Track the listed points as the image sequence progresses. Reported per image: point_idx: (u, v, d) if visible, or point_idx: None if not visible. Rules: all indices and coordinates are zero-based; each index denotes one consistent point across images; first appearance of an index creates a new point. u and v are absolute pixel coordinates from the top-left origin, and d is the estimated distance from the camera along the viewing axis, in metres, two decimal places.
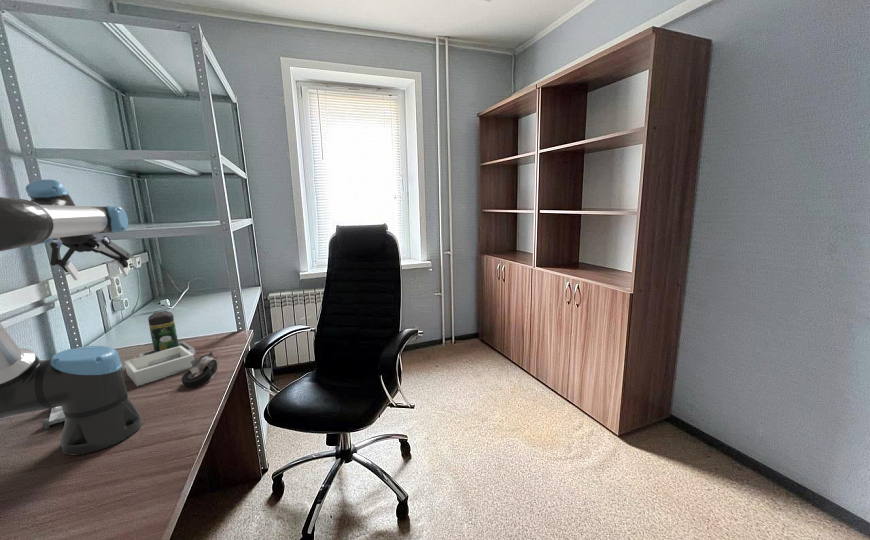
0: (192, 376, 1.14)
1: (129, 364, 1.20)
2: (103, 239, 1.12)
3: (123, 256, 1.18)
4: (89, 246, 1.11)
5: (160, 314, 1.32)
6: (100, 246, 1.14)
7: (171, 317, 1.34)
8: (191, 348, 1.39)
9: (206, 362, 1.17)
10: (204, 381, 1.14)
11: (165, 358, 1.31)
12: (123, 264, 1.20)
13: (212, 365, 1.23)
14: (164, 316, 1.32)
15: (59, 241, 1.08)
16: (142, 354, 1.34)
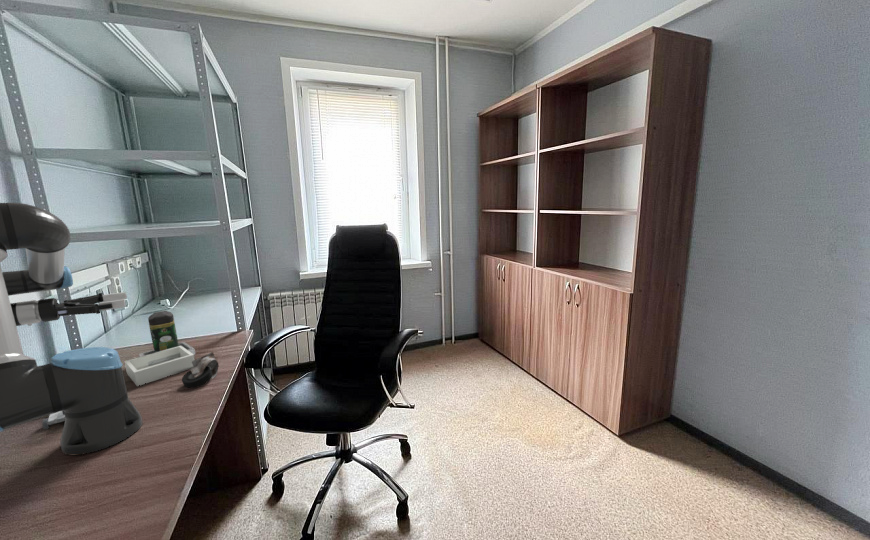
0: (192, 376, 1.13)
1: (129, 364, 1.20)
2: (64, 302, 1.21)
3: (93, 295, 1.27)
4: None
5: (160, 314, 1.32)
6: None
7: (171, 317, 1.34)
8: (191, 348, 1.39)
9: (207, 362, 1.17)
10: (204, 382, 1.13)
11: (165, 358, 1.31)
12: None
13: (214, 365, 1.23)
14: (164, 316, 1.32)
15: None
16: (142, 354, 1.34)
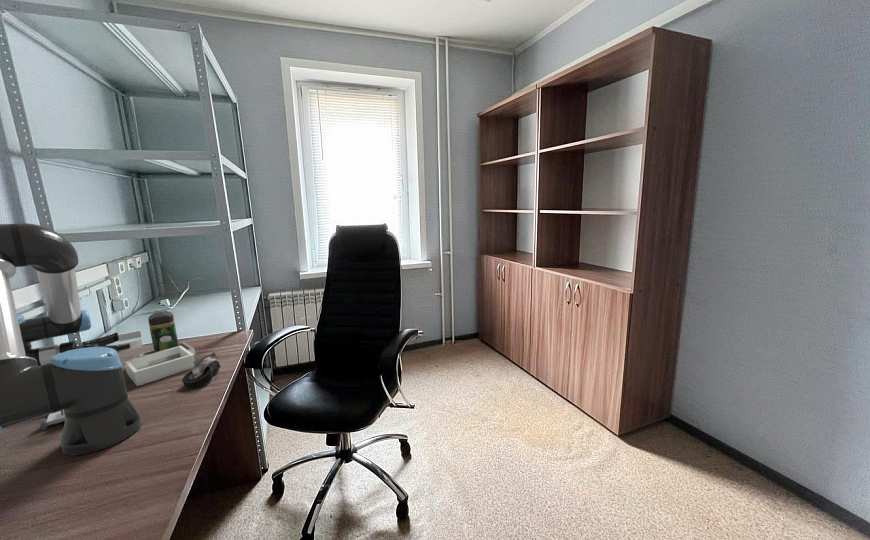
0: (192, 377, 1.13)
1: (129, 364, 1.20)
2: (82, 344, 1.25)
3: (109, 335, 1.32)
4: None
5: (160, 314, 1.32)
6: None
7: (171, 317, 1.34)
8: (191, 348, 1.39)
9: (207, 363, 1.16)
10: (204, 382, 1.13)
11: (165, 358, 1.31)
12: None
13: (215, 365, 1.22)
14: (164, 316, 1.32)
15: None
16: (142, 354, 1.34)
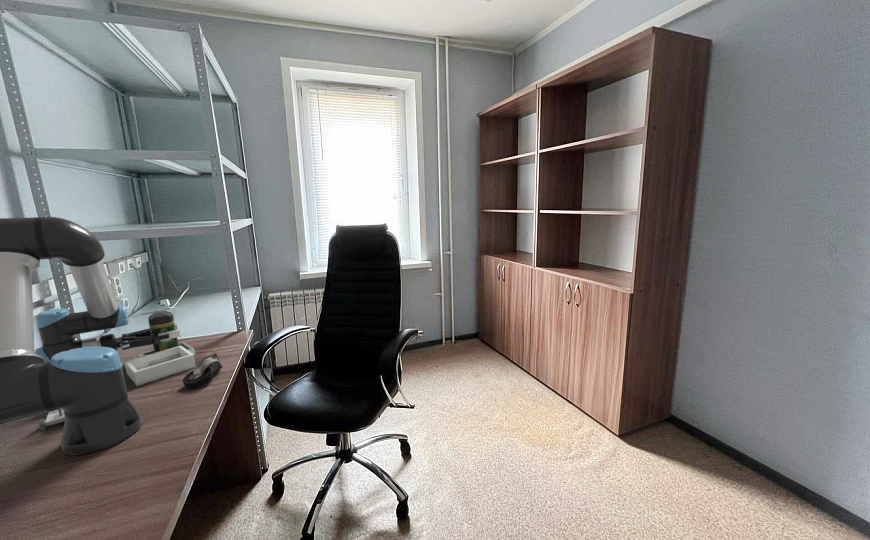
0: (192, 377, 1.13)
1: (129, 364, 1.20)
2: None
3: None
4: None
5: (160, 314, 1.32)
6: None
7: (171, 317, 1.34)
8: (191, 348, 1.39)
9: (208, 364, 1.16)
10: (203, 383, 1.12)
11: (165, 358, 1.31)
12: None
13: (217, 366, 1.22)
14: (164, 316, 1.32)
15: (121, 345, 1.24)
16: (142, 354, 1.34)
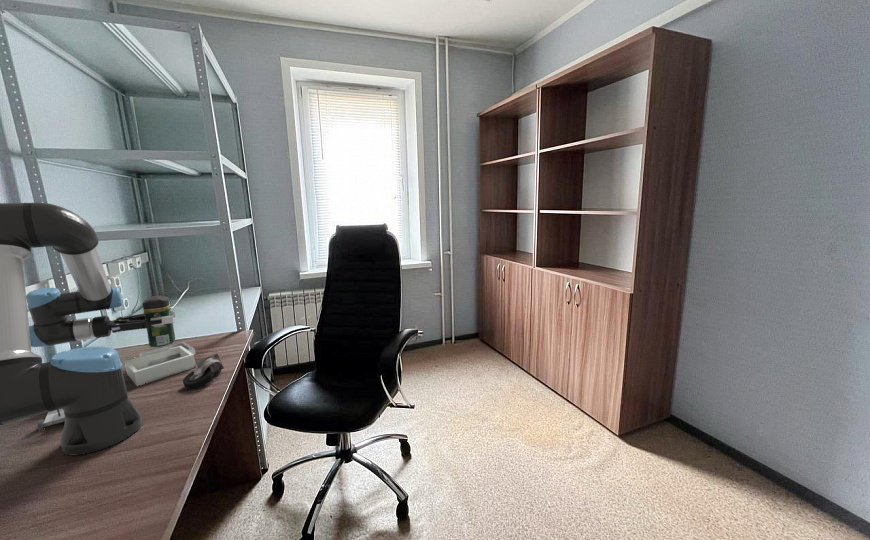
0: (193, 378, 1.12)
1: (129, 364, 1.20)
2: None
3: None
4: None
5: (154, 298, 1.28)
6: None
7: (165, 302, 1.29)
8: (191, 348, 1.39)
9: (208, 364, 1.15)
10: (203, 384, 1.12)
11: (165, 358, 1.31)
12: None
13: (218, 366, 1.21)
14: (158, 300, 1.27)
15: (112, 328, 1.20)
16: (142, 354, 1.34)
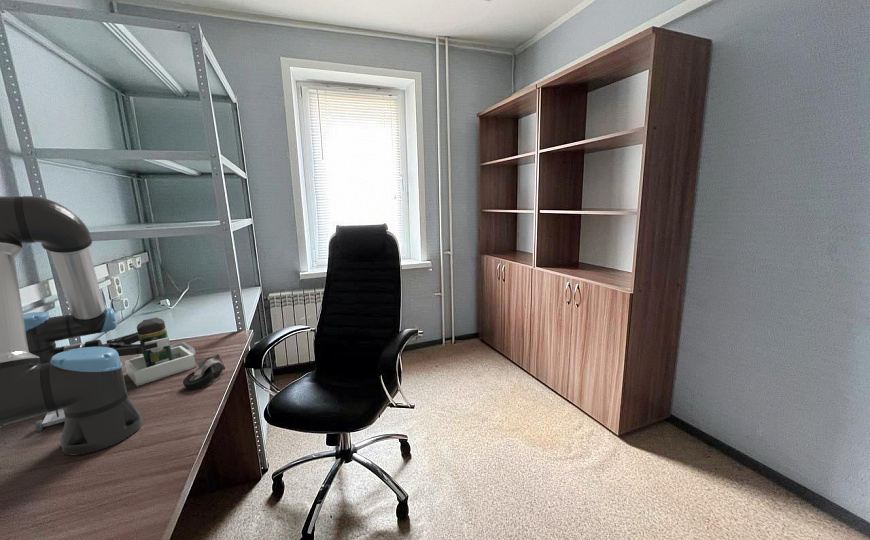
0: (193, 378, 1.12)
1: (129, 364, 1.20)
2: (107, 342, 1.19)
3: (134, 333, 1.26)
4: None
5: (149, 322, 1.20)
6: None
7: (162, 325, 1.21)
8: (191, 348, 1.39)
9: (208, 365, 1.14)
10: (202, 385, 1.11)
11: None
12: None
13: (220, 367, 1.21)
14: (154, 324, 1.19)
15: None
16: (142, 354, 1.34)
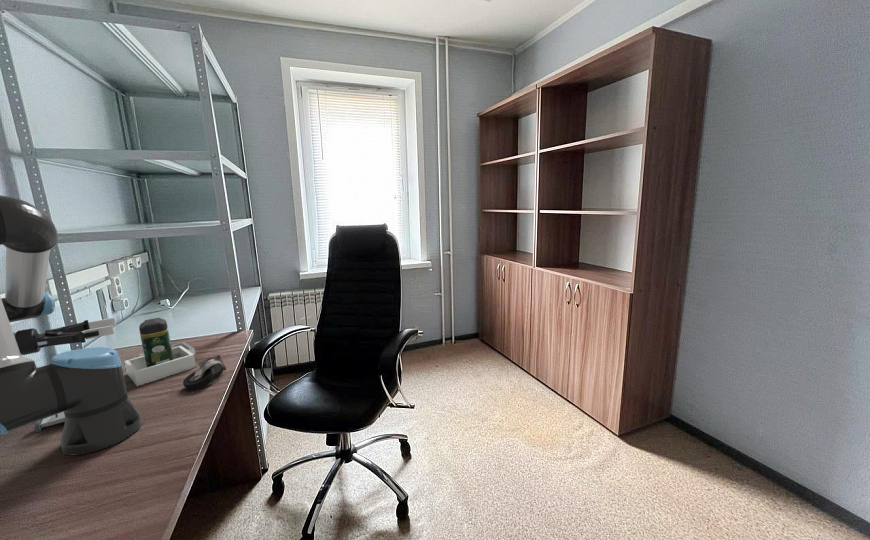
0: (193, 379, 1.12)
1: (129, 364, 1.20)
2: None
3: (79, 323, 1.17)
4: None
5: (152, 322, 1.20)
6: None
7: (164, 325, 1.22)
8: (191, 348, 1.39)
9: (208, 366, 1.14)
10: (201, 386, 1.10)
11: None
12: None
13: (220, 368, 1.20)
14: (157, 324, 1.20)
15: None
16: (142, 354, 1.34)
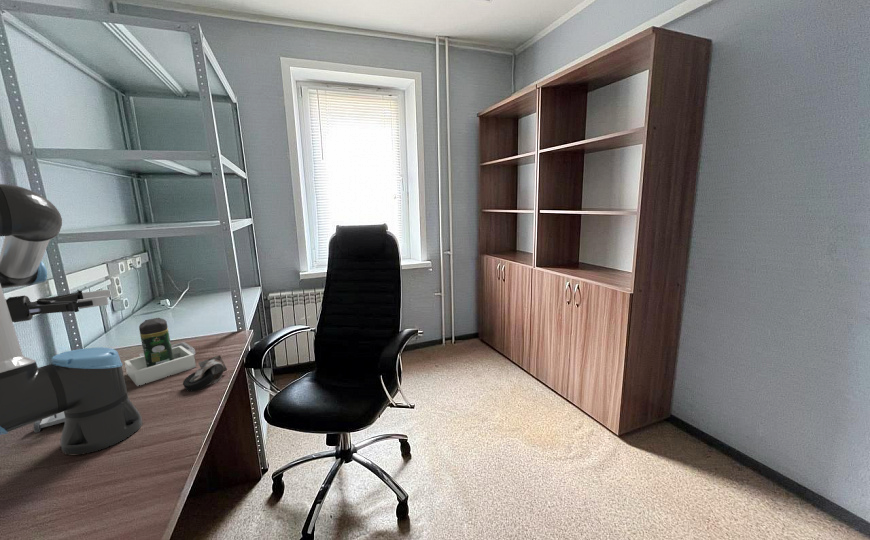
0: (192, 379, 1.12)
1: (129, 364, 1.20)
2: None
3: (72, 293, 1.14)
4: None
5: (152, 322, 1.20)
6: None
7: (164, 325, 1.22)
8: (191, 348, 1.39)
9: (208, 366, 1.14)
10: (201, 386, 1.10)
11: None
12: None
13: (221, 368, 1.20)
14: (157, 324, 1.20)
15: None
16: (142, 354, 1.34)
